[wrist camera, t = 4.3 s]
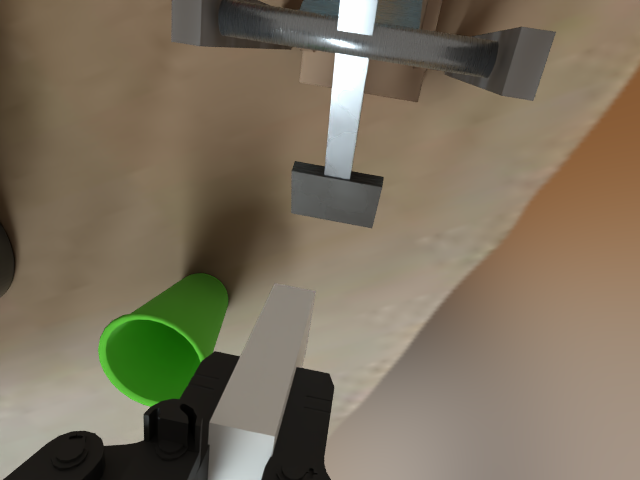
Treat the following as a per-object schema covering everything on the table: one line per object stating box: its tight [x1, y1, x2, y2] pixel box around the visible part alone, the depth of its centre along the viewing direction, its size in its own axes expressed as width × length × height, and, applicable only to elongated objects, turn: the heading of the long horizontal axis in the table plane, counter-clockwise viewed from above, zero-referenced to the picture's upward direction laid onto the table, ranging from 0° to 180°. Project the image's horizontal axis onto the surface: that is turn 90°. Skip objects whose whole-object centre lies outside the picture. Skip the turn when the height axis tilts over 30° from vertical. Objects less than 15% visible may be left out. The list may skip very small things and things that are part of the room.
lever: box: [218, 0, 499, 228], centre depth 22 cm, size 11×19×12 cm
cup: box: [98, 273, 228, 407], centre depth 40 cm, size 9×9×11 cm
